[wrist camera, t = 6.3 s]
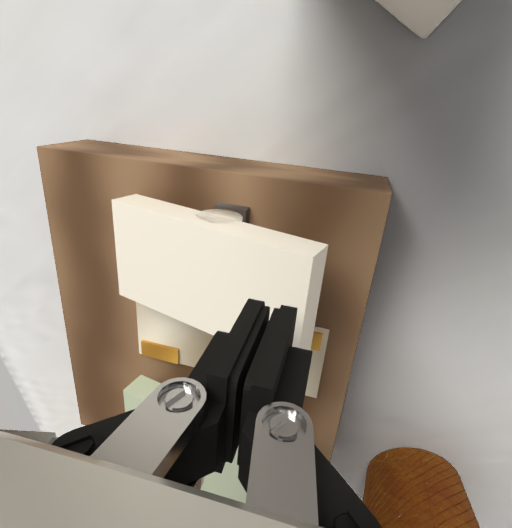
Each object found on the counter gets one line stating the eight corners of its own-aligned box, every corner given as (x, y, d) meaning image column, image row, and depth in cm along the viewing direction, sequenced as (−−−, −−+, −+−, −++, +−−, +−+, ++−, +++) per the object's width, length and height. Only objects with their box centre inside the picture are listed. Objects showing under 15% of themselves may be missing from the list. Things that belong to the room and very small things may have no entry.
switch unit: (387, 177, 20) (393, 198, 15) (327, 447, 28) (320, 508, 24) (86, 139, 23) (26, 148, 19) (113, 387, 32) (74, 431, 27)
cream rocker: (337, 237, 15) (313, 257, 13) (318, 340, 17) (295, 371, 15) (150, 190, 19) (111, 199, 17) (154, 277, 21) (119, 294, 19)
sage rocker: (303, 428, 20) (286, 466, 18) (292, 490, 22) (275, 530, 20) (151, 364, 23) (123, 390, 21) (154, 423, 26) (128, 451, 23)
